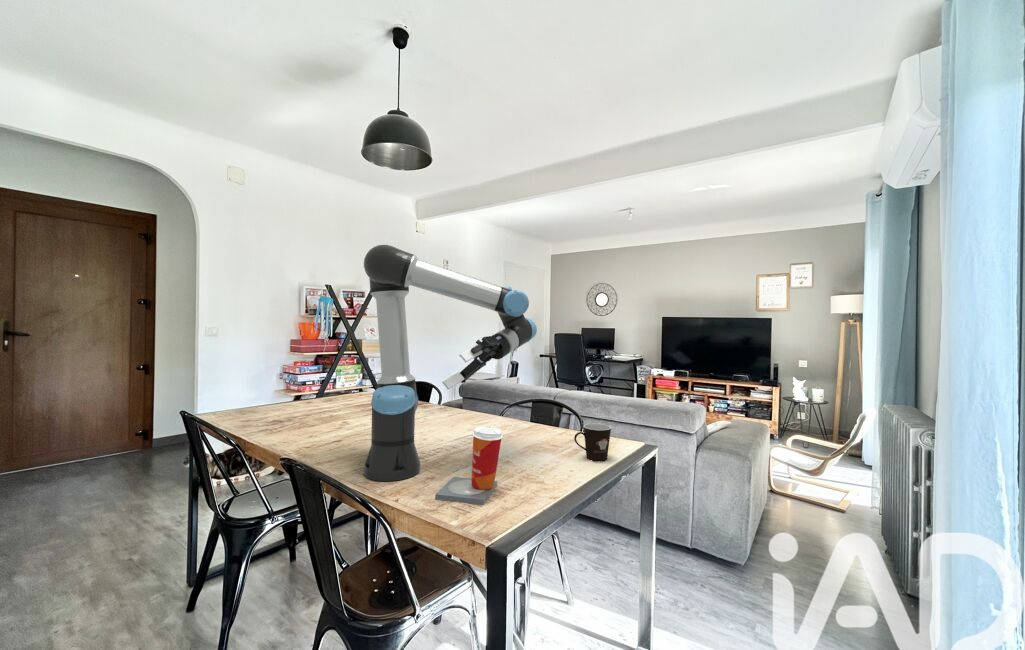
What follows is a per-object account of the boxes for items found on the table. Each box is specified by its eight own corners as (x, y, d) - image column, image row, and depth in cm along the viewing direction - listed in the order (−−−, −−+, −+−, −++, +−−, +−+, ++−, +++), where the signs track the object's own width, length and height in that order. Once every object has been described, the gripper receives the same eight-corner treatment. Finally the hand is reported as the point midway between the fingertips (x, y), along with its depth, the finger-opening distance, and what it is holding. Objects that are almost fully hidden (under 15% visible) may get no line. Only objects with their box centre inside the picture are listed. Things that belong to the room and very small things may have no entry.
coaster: (435, 499, 99) (435, 493, 99) (453, 481, 110) (453, 476, 110) (483, 505, 96) (483, 499, 96) (497, 485, 108) (497, 480, 108)
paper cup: (468, 477, 108) (474, 424, 108) (498, 480, 108) (503, 427, 108) (465, 490, 100) (471, 433, 100) (497, 493, 100) (503, 436, 100)
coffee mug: (608, 454, 136) (609, 424, 136) (612, 463, 127) (612, 430, 127) (572, 453, 137) (573, 422, 137) (574, 461, 128) (574, 429, 128)
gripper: (528, 327, 121) (480, 356, 105) (493, 374, 137) (447, 405, 121) (510, 309, 123) (461, 335, 107) (478, 358, 139) (431, 386, 123)
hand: (453, 372), depth 114 cm, fingers open, 13 cm apart
